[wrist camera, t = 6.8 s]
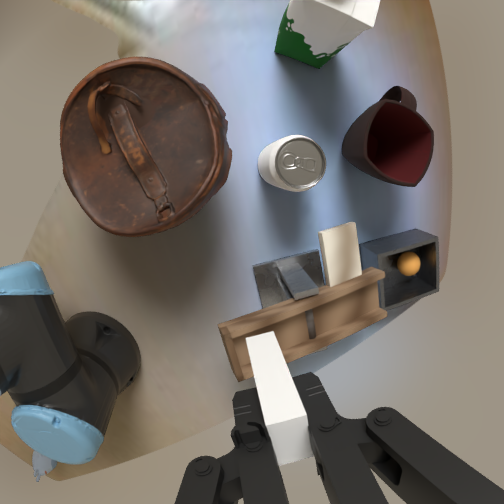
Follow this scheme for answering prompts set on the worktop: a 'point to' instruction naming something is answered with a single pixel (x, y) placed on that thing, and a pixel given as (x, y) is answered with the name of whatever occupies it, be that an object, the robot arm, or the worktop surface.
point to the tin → (395, 283)
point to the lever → (313, 307)
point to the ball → (408, 263)
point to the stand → (289, 278)
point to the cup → (391, 140)
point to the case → (143, 146)
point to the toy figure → (42, 464)
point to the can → (292, 163)
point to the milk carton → (322, 28)
